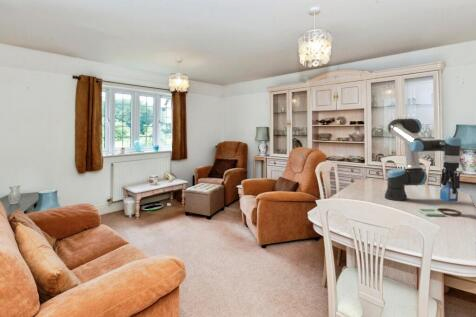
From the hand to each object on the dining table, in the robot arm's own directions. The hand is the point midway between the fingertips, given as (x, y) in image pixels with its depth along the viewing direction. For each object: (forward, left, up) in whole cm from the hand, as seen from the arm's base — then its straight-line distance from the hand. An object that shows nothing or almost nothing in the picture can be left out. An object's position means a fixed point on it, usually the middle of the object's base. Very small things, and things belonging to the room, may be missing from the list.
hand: (448, 196), depth 159 cm
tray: (+3, -11, -11) cm, 16 cm away
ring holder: (+1, 0, -11) cm, 11 cm away
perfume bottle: (0, 0, -2) cm, 2 cm away
